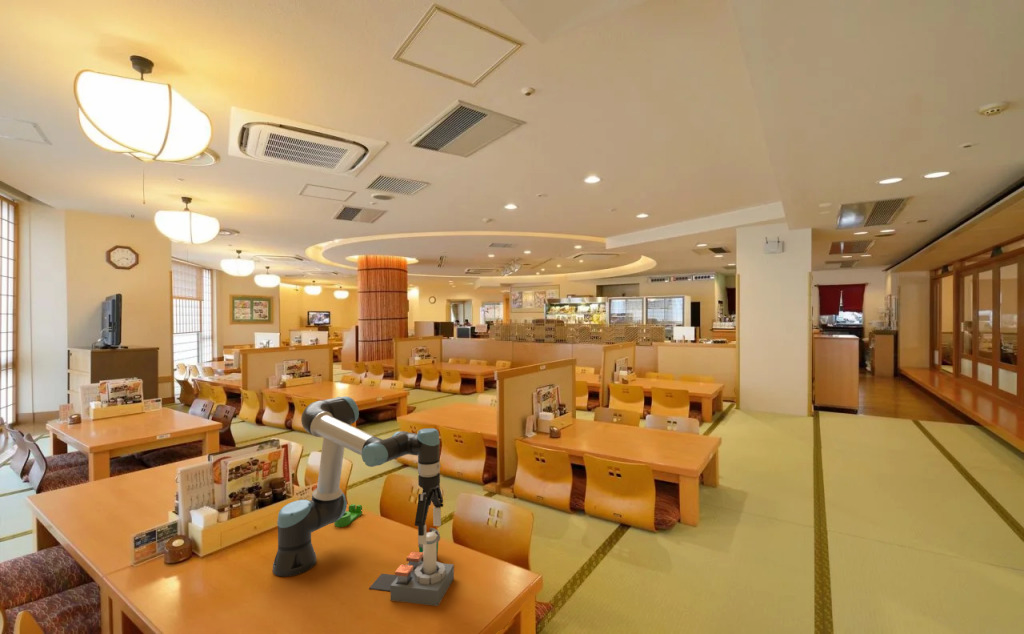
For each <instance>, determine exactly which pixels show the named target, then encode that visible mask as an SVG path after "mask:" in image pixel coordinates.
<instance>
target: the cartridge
mask: <svg viewBox="0 0 1024 634" xmlns="http://www.w3.org/2000/svg"><path fill="white" fill-rule="evenodd" d="M426 537H427V544H426V545H423V574H425V575H432V574H434V573H437V562H438V557H436V533H434V532H429V531H428V532H426Z"/></svg>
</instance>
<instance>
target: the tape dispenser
mask: <svg viewBox="0 0 1024 634" xmlns="http://www.w3.org/2000/svg"><path fill="white" fill-rule="evenodd" d="M361 510H362V511H361ZM362 515H363V506H362V505H361V504H356V503H355V504H354V503H352V504H350V505H348V511H347V510H346V511H345V513H344V515H343V516H342V517H341V518H340V519H338V520H337V521H335V522H334V523H333V524H334V527H335V526H336V528H343V527H347V526H349V525H350V524H351V523H352V522H353V521H355V520H356V519H358V518H359V517H360V516H362ZM357 517H358V518H357Z"/></svg>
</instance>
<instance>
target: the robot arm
mask: <svg viewBox="0 0 1024 634" xmlns="http://www.w3.org/2000/svg"><path fill="white" fill-rule="evenodd" d="M359 412H360V411H359V407H358V404H357V402H356V401H355V400H354V399H353V398H352V397H350V396H346V395H345V396H337V397H333V398H327V399H321V400H317V401H313V402H311V403H310V404H308V405H307V406H306V407H305V408H304V410H303V412H302V414H301V417H300V418H301V419H300V420H301V425H302V428H303V429H304V430H305V432H307V433H308V434H310V435H312V436H314V437H319V438H321V437H322V445H321V446H322V447H321V453H320V461H319V462H320V463H319V470H318V478H317V486H316V488H315V489H314V490H313V491H312V493H311V494H312V495H311V499H310V500H308V499H299V500H294V501H292V502H289V503H287V504H286V505H285V504H284V506H283V507H281V509H280V510H279V512H278V515H277V521H276V525H277V550H276V554H275V556H274V560H273V563H272V573H273V574H274V575H275V576H277V577H283V578H284V577H294V576H297V575H301V574H303V573H305V572H308V571H309V570H311V569H312V568H313V567H314V566H315V565H316V563H317V554H316V551H315V550H314V547H313V544H312V533H314V532H315V531H318V530H320V529H322V528H325V527H326V526H328V525H330V524H334V522H335V521H337V520H338V519H340V518H341V517H342V516H343V515H344V513H345V511H347V507H348V502H347V499H346V495H345V493H344V492H343V490H342V489H341V488H340V484H341V476H342V469H343V460H344V452H345V449H347V450H349V451H351V452H354V453H356V454H357V455H360V456H361V459H362V461H363V462H364V464H365V466H366V467H371V468H372V467H376V466H377V467H378V466H382V465H383V464H385V463H387V462H391V461H393V460H395V459H398V458H401V457H403V456H404V457H405V456H406V455H411V456H416V457H417V473H418V475H417V477H418V478H417V481H418V486H419V487H420V488H421V489H422V492H421V493H418V495H417V496H418V499H417V500H418V502H417V507H416V512H415V518H414V526H415V527H417V545H418V544H423V545H426V544H427V537H426V533H427V523H426V521H427V516H428V512H429V507H430V506H431V504H432V505H433V509H432V519H433V521H432V523H433V524H432V525H433V527H441V526H442V513H441V512H442V509H441V508H443V507H444V499H443V495H442V489H441V486H440V485H441V484H440V483H441V473H440V471H441V469H440V468H441V464H440V444H441V442H440V433H439V430H438V429H436V428H434V427H433V428H421V429H419V430H417V433H414V432H408V431H405V430H404V431H396V432H394V433H393V434H392V435H391V436H390V437H388V438H384V439H382V438H380V437H377V436H375V435H373V434H371V433H369V432H366V431H365V430H361V429H359V428H358V427H356V426H353V425H352V424H354V423H356V421H357V420H359V415H360V413H359Z"/></svg>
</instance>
